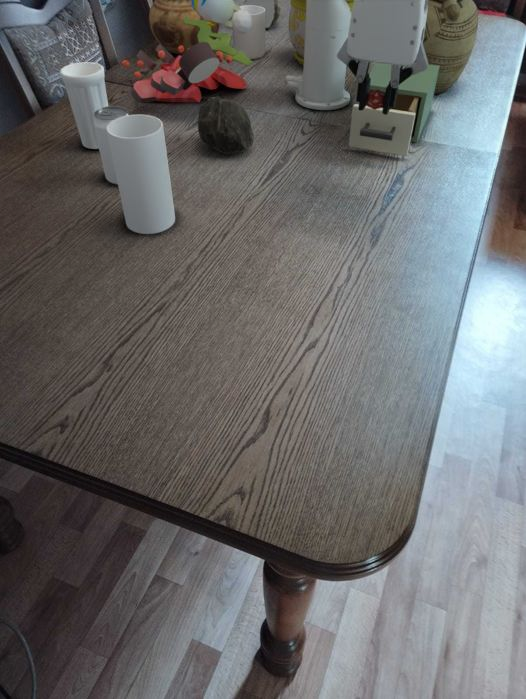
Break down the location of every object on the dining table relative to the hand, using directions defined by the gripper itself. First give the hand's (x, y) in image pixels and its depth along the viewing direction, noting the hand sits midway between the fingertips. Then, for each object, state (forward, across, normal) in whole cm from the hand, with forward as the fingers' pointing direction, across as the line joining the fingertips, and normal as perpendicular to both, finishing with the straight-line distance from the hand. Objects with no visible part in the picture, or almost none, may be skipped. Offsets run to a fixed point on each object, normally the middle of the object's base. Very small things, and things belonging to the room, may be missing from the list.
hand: (374, 107), depth 84 cm
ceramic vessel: (+17, 0, -57) cm, 60 cm away
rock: (+17, +30, -10) cm, 36 cm away
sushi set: (+17, +49, -33) cm, 61 cm away
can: (+17, +43, +8) cm, 47 cm away
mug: (+18, +48, -64) cm, 82 cm away
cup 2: (+17, +31, +19) cm, 40 cm away
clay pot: (+18, +65, -60) cm, 90 cm away
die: (0, 0, 0) cm, 0 cm away
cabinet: (+17, +2, -34) cm, 38 cm away
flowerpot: (+18, +28, -65) cm, 73 cm away
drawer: (+16, +1, -23) cm, 28 cm away
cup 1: (+17, +55, -2) cm, 58 cm away
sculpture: (+18, +55, -92) cm, 109 cm away
